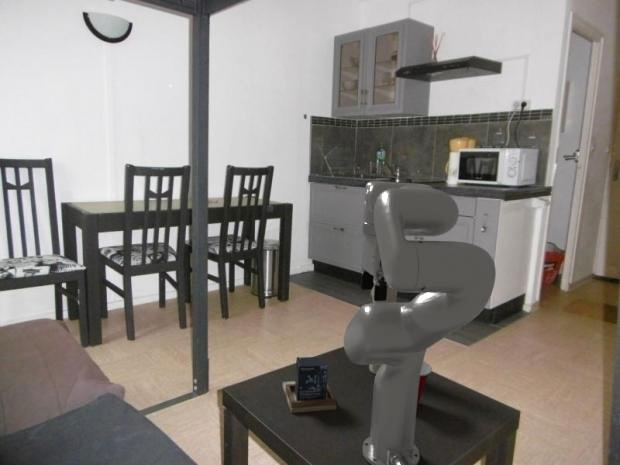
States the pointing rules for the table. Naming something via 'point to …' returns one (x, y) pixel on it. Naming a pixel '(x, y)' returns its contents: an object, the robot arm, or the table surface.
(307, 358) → the box
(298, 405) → the plate
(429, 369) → the plastic cup
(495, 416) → the table surface
